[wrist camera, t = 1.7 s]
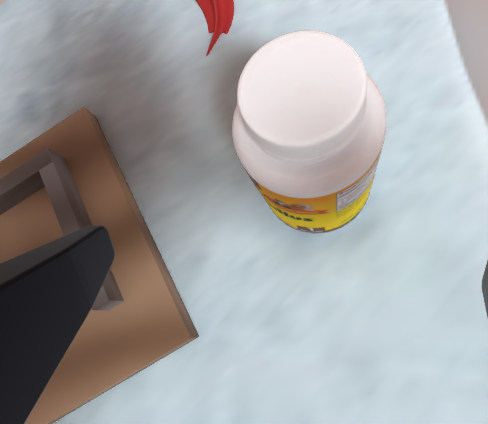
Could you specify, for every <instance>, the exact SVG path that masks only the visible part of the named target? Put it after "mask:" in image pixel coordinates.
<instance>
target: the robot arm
mask: <svg viewBox="0 0 488 424" xmlns="http://www.w3.org/2000/svg"><path fill="white" fill-rule="evenodd" d="M114 257H115V251H114V248H113V245H112V242H111V239H110V236H109V233H108V230H107V228H106V227H104V226H100V225H89V226H86V227H84V228H81V229H79V230H77V231H74V232H72V233H70V234H67V235H65V236H63V237H60V238H58V239H56V240H53V241H51V242H49V243H46V244H44V245H42V246H39V247H37V248H35V249H32V250H30V251H28V252H25V253H23V254H21V255H18V256H16V257H14V258H11V259H9V260H7V261H4V262H2V263H0V424H25V422H26V420H27V418H28V417H29V415H30V413H31V412H32V410H33V408H34V406H35V405H36V403H37V401H38V400H39V398H40V396H41V394H42V393H43V391H44V389H45V388H46V386H47V384H48V382H49V381H50V379H51V377H52V376H53V374H54V372H55V370H56V369H57V367H58V365H59V364H60V362H61V360H62V359H63V357H64V355H65V353H66V352H67V350H68V348H69V347H70V345H71V343H72V341H73V340H74V338H75V336H76V335H77V333H78V331H79V329H80V328H81V326H82V324H83V323H84V321H85V319H86V317H87V316H88V314H89V312H90V310H91V308H92V306H93V304H94V302H95V300H96V298H97V296H98V294H99V292H100V289H101V287H102V285H103V283H104V281H105V278H106V276H107V274H108V272H109V270H110V267H111V265H112V263H113V261H114ZM482 292H483V297H484V302H485V307H486V312H487V317H488V261H487V265H486V268H485V272H484V275H483V279H482Z"/></svg>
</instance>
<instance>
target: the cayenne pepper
mask: <svg viewBox="0 0 488 424" xmlns="http://www.w3.org/2000/svg"><path fill="white" fill-rule="evenodd" d="M196 1H197V3H198V4H199V6H200V7H201V9H202V11H203V13H204V15H205V17H206V20H207V24H208V30H209V33H212V32H214V33H213V37H212V40H211V43H210V46H209V49H208V52H207V55H208V54H209V52H210V51H211V49H212V47H213V46H214V44H215V43H216V41H217V39H218V38H219V36H220V35H221V34H222V33H225V34H227V33H228V31H229V29H230V27H231V23H232V20H233V13H234V2H233V0H196ZM207 55H206V56H207Z"/></svg>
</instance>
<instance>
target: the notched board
mask: <svg viewBox="0 0 488 424" xmlns="http://www.w3.org/2000/svg"><path fill="white" fill-rule="evenodd" d="M89 225H100V226H104V227H106V228H107V230H108V233H109V236H110V239H111V242H112V245H113V248H114V251H115V257H114V261H113V263H112V265H111V267H110V270H109V272H108V274H107V276H106V278H105V281H104V283H103V285H102V287H101V289H100V292H99V294H98V296H97V298H96V300H95V302H94V304H93V306H92V308H91V310H90V312H89V314H88V316H87V317H86V319H85V321H84V323H83V324H82V326H81V328H80V329H79V331H78V333H77V335H76V336H75V338H74V340H73V341H72V343H71V345H70V347H69V348H68V350H67V352H66V353H65V355H64V357H63V359H62V360H61V362H60V364H59V365H58V367H57V369H56V370H55V372H54V374H53V376H52V377H51V379H50V381H49V382H48V384H47V386H46V388H45V389H44V391H43V393H42V394H41V396H40V398H39V400H38V401H37V403H36V405H35V406H34V408H33V410H32V412H31V413H30V415H29V417H28V418H27V420H26V422H25V424H52V423H54V422H55V421H57V420H59V419H60V418H62V417H64V416H65V415H67V414H69V413H70V412H72V411H74V410H76V409H77V408H79V407H81V406H82V405H84V404H86V403H87V402H89V401H91V400H93V399H94V398H96V397H98V396H99V395H101V394H103V393H104V392H106V391H108V390H109V389H111V388H113V387H115V386H116V385H118V384H120V383H121V382H123V381H125V380H126V379H128V378H130V377H131V376H133V375H135V374H137V373H138V372H140V371H142V370H143V369H145V368H147V367H148V366H150V365H152V364H154V363H155V362H157V361H159V360H160V359H162V358H164V357H165V356H167V355H169V354H170V353H172V352H174V351H176V350H177V349H179V348H181V347H182V346H184V345H186V344H187V343H189V342H191V341H192V340H194V339H196V338H198V337H199V336H198V334H197V331H196V329H195V327H194V325H193V323H192V321H191V319H190V317H189V314H188V312H187V310H186V308H185V306H184V304H183V302H182V300H181V298H180V295H179V293H178V291H177V289H176V287H175V285H174V283H173V281H172V278H171V276H170V274H169V272H168V270H167V268H166V266H165V264H164V261H163V259H162V257H161V255H160V253H159V251H158V249H157V247H156V244H155V242H154V240H153V238H152V236H151V234H150V232H149V230H148V227H147V225H146V223H145V221H144V219H143V217H142V215H141V213H140V210H139V208H138V206H137V204H136V202H135V200H134V198H133V196H132V193H131V191H130V189H129V187H128V185H127V183H126V181H125V179H124V176H123V174H122V172H121V170H120V168H119V166H118V164H117V162H116V160H115V157H114V155H113V153H112V151H111V149H110V147H109V145H108V143H107V140H106V138H105V136H104V134H103V132H102V130H101V128H100V126H99V123H98V121H97V119H96V117H95V116H94V115H93V114H92V113H91V112H90V111H88V110H87V109H86V108H85V107H83V108H82V109H80V110H78V111H77V112H75V113H74V114H72V115H71V116H69V117H68V118H66V119H65V120H63V121H62V122H60V123H59V124H57V125H56V126H54V127H53V128H51V129H50V130H48V131H47V132H45V133H44V134H42V135H40V136H39V137H37V138H36V139H34V140H33V141H31V142H30V143H28V144H27V145H25V146H24V147H22V148H21V149H19V150H18V151H16V152H15V153H13V154H12V155H10V156H9V157H7V158H6V159H4V160H2V161H1V162H0V263H2V262H4V261H7V260H9V259H11V258H14V257H16V256H18V255H21V254H23V253H25V252H28V251H30V250H32V249H35V248H37V247H39V246H42V245H44V244H46V243H49V242H51V241H53V240H56V239H58V238H60V237H63V236H65V235H67V234H70V233H72V232H74V231H77V230H79V229H81V228H84V227H86V226H89Z"/></svg>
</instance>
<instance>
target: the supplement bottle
mask: <svg viewBox="0 0 488 424" xmlns="http://www.w3.org/2000/svg"><path fill="white" fill-rule="evenodd" d="M386 123H387V117H386V108H385V104H384V100H383V97H382V95H381V92H380V90H379V88H378V87H377V85H376V84H375V82H374V81H373V80H372V78H371V77H370V76H369V75H368V74H367V73H366V70H365V67H364V65H363V62H362V60H361V58H360V56H359V55H358V54H357V52H356V51H355V50H354V49H353V48H352V47H351V46H350V45H349V44H348V43H346V42H345V41H344V40H342V39H340V38H339V37H337V36H334V35H332V34H329V33H326V32H321V31H311V30H307V31H296V32H292V33H288V34H284V35H282V36H279V37H277V38H275V39H273V40H271V41H269V42H268V43H266V44H265V45H264V46H262V47H261V48H260V49H259V50H258V51H257V52H256V53H255V54H254V55H253V56H252V57H251V58H250V59H249V61H248V62H247V64H246V65H245V67H244V69H243V71H242V73H241V76H240V79H239V83H238V88H237V105H236V108H235V111H234V115H233V122H232V137H233V143H234V147H235V150H236V153H237V155H238V158H239V160H240V162H241V163H242V165H243V167H244V169H245V170H246V172H247V173H248V175H249V176H250V178H251V179H252V181H253V182H254V184H255V185H256V187H257V188H258V190H259V191H260V193H261V194H262V196H263V197H264V199H265V200H266V202H267V203H268V205H269V207H270V208H271V209H272V211H273V212H274V213H275V215H276V216H277V217H278V218H279V219H280V220H281V221H282V222H284V223H285V224H286V225H288V226H290V227H292V228H294V229H296V230H299V231H302V232H306V233H327V232H331V231H334V230H337V229H339V228H341V227H343V226H345V225H347V224H348V223H349V222H351V221H352V220H353V219H354V218H355V217H356V216H357V215H358V214H359V213H360V211H361V210H362V209H363V207H364V205H365V203H366V201H367V199H368V196H369V193H370V189H371V185H372V182H373V179H374V175H375V171H376V168H377V164H378V160H379V157H380V153H381V150H382V146H383V143H384V138H385V133H386Z"/></svg>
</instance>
